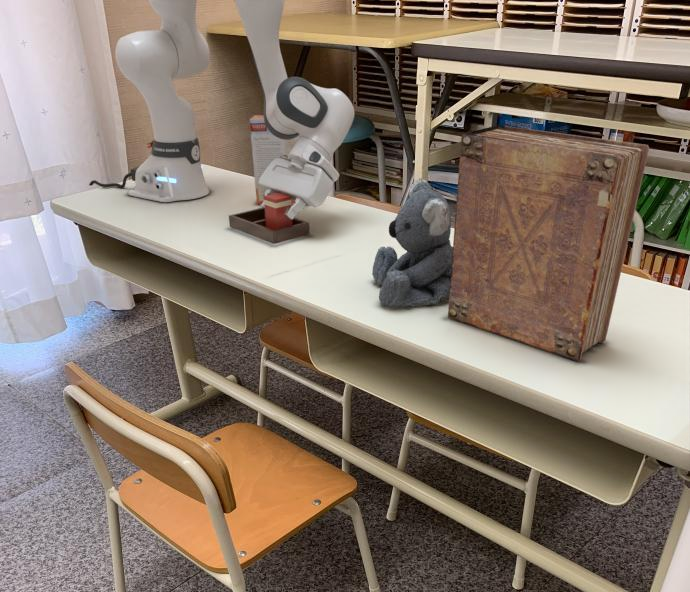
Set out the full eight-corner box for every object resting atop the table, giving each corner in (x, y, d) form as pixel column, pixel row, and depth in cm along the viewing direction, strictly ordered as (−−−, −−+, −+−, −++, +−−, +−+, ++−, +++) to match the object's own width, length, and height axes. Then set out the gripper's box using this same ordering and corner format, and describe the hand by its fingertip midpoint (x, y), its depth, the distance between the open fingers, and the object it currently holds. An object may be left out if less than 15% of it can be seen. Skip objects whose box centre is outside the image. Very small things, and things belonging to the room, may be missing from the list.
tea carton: (266, 233, 160) (263, 196, 155) (281, 229, 163) (279, 192, 158) (277, 238, 158) (275, 199, 153) (293, 234, 160) (291, 196, 155)
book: (606, 343, 113) (651, 145, 95) (578, 362, 107) (621, 156, 90) (476, 302, 127) (495, 124, 110) (446, 318, 122) (461, 132, 104)
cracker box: (311, 199, 187) (308, 114, 175) (308, 205, 182) (304, 118, 170) (260, 198, 188) (254, 113, 176) (256, 204, 183) (248, 117, 171)
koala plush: (369, 277, 138) (370, 174, 127) (458, 274, 139) (466, 171, 128) (381, 312, 124) (383, 199, 113) (479, 307, 125) (491, 196, 114)
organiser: (229, 229, 166) (228, 215, 164) (264, 220, 171) (263, 207, 169) (274, 246, 155) (273, 231, 153) (309, 236, 160) (309, 222, 159)
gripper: (271, 144, 161) (241, 196, 161) (328, 158, 148) (295, 214, 148) (288, 162, 166) (258, 212, 166) (344, 177, 153) (312, 230, 153)
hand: (276, 213), depth 157 cm, fingers open, 7 cm apart
